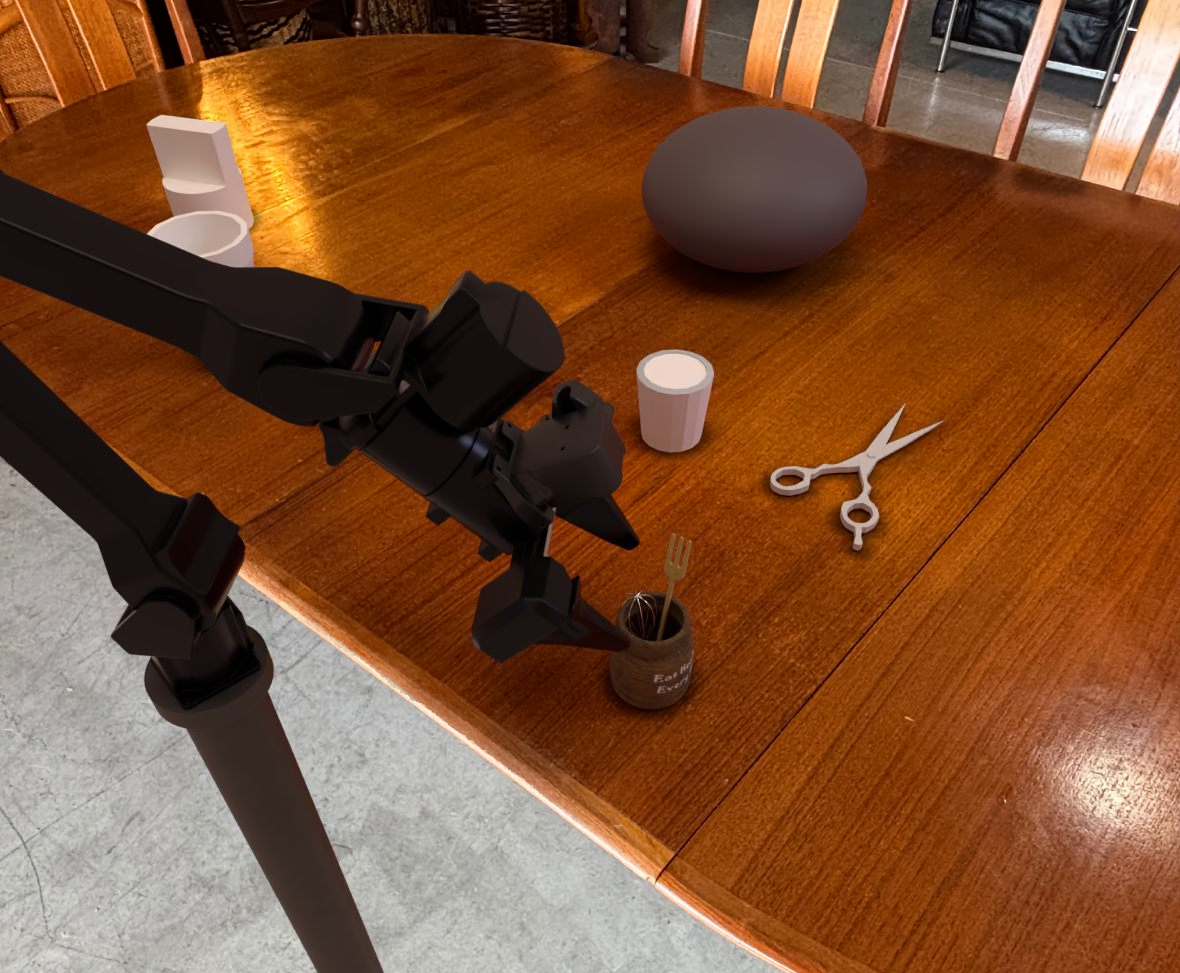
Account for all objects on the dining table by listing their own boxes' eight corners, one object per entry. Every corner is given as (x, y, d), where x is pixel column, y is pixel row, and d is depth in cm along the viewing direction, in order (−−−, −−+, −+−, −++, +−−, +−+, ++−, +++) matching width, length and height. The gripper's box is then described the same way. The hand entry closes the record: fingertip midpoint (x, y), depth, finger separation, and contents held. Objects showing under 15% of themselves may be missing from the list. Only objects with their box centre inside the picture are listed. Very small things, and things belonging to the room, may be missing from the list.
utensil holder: (593, 689, 72) (592, 576, 63) (639, 634, 75) (644, 519, 66) (663, 726, 69) (672, 614, 60) (707, 668, 73) (721, 553, 64)
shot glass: (669, 466, 88) (673, 403, 83) (619, 430, 92) (620, 367, 87) (723, 436, 91) (730, 372, 86) (673, 402, 95) (677, 339, 90)
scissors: (753, 488, 85) (877, 385, 95) (752, 494, 86) (875, 391, 96) (859, 546, 80) (978, 431, 90) (857, 552, 81) (975, 437, 91)
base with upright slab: (163, 237, 118) (128, 135, 109) (204, 203, 124) (174, 104, 115) (229, 247, 116) (198, 145, 108) (267, 213, 122) (241, 113, 113)
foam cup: (172, 350, 102) (128, 231, 92) (254, 318, 106) (219, 201, 96) (212, 391, 97) (170, 270, 87) (296, 356, 101) (265, 237, 91)
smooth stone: (602, 231, 118) (602, 101, 107) (774, 186, 126) (790, 61, 115) (711, 330, 103) (724, 192, 92) (899, 273, 111) (931, 139, 100)
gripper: (512, 494, 48) (722, 654, 55) (559, 292, 60) (724, 443, 67) (381, 594, 54) (584, 725, 61) (448, 392, 67) (610, 521, 74)
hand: (630, 594), depth 66 cm, fingers open, 9 cm apart
